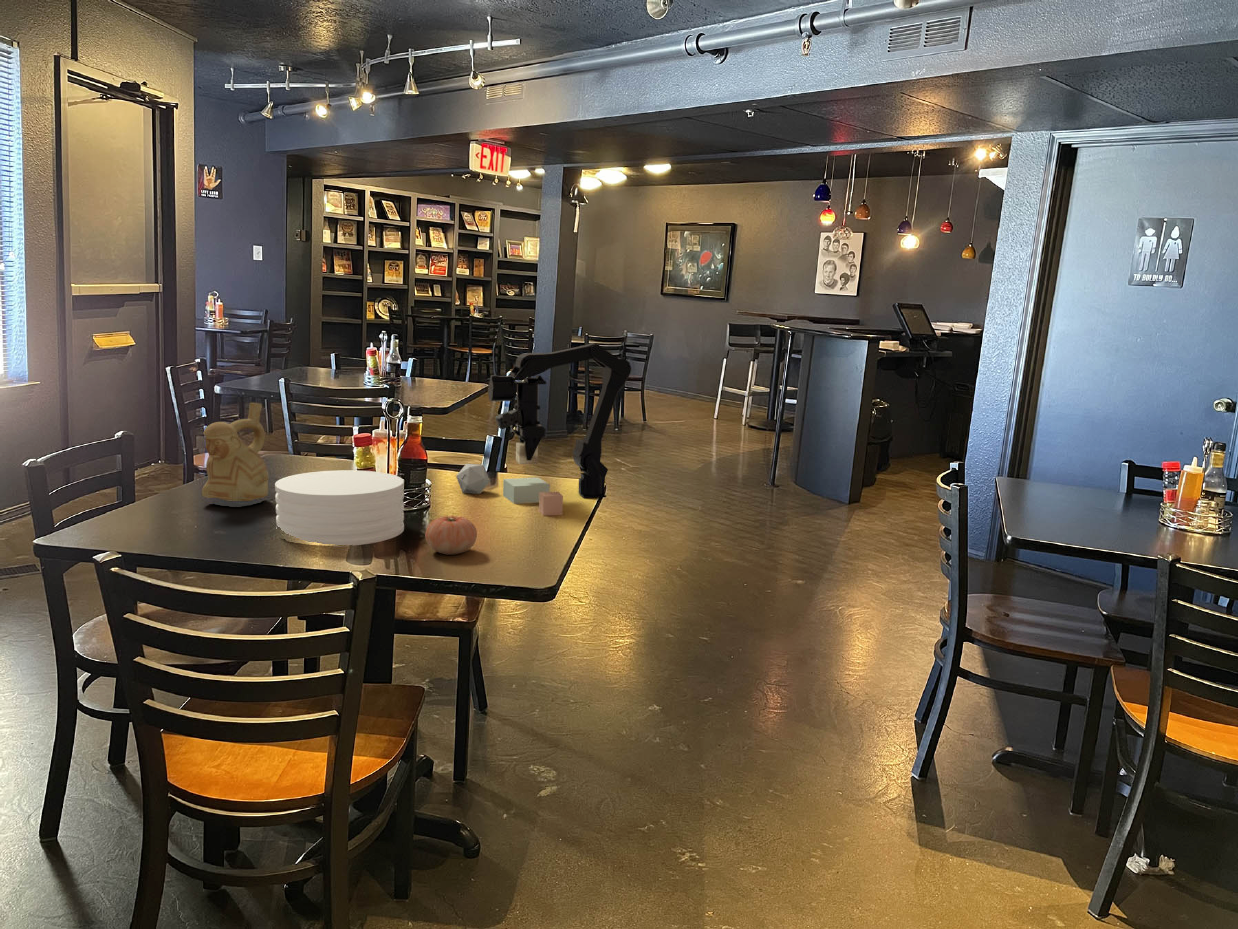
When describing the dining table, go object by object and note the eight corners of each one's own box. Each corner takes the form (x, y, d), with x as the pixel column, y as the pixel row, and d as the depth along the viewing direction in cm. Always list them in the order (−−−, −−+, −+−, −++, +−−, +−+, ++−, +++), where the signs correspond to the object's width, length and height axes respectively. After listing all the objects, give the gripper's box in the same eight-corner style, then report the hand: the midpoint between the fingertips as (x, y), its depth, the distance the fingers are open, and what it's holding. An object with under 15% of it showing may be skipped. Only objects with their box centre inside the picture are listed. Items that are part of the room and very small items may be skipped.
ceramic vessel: (183, 507, 226) (178, 406, 222) (239, 492, 244) (235, 399, 240) (240, 514, 221) (236, 411, 216) (293, 498, 239) (290, 403, 235)
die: (455, 491, 258) (448, 468, 251) (479, 474, 262) (472, 451, 255) (473, 506, 254) (466, 483, 247) (497, 488, 257) (491, 465, 250)
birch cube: (533, 460, 251) (534, 442, 250) (537, 463, 246) (537, 445, 245) (515, 460, 249) (516, 442, 248) (519, 464, 244) (519, 445, 243)
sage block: (537, 494, 256) (538, 477, 255) (549, 502, 247) (549, 484, 246) (503, 496, 252) (503, 479, 251) (513, 504, 243) (513, 486, 242)
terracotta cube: (557, 510, 237) (558, 491, 236) (562, 515, 233) (562, 495, 232) (538, 511, 236) (539, 492, 235) (543, 515, 231) (543, 496, 230)
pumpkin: (421, 547, 199) (421, 511, 197) (470, 544, 203) (471, 509, 201) (430, 561, 189) (430, 523, 187) (481, 557, 193) (482, 520, 191)
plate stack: (429, 529, 214) (429, 481, 212) (331, 554, 191) (330, 501, 189) (349, 510, 230) (349, 465, 228) (250, 531, 207) (248, 482, 205)
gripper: (492, 397, 251) (491, 453, 254) (503, 405, 233) (503, 465, 236) (532, 397, 254) (531, 452, 257) (546, 405, 237) (545, 464, 239)
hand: (526, 458), depth 247 cm, fingers closed on birch cube, 5 cm apart
